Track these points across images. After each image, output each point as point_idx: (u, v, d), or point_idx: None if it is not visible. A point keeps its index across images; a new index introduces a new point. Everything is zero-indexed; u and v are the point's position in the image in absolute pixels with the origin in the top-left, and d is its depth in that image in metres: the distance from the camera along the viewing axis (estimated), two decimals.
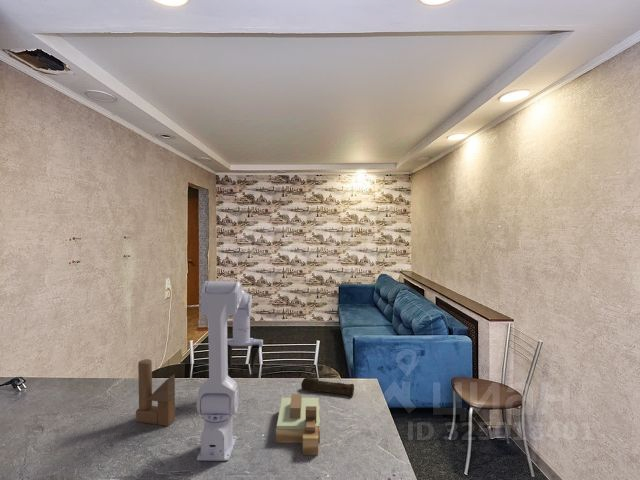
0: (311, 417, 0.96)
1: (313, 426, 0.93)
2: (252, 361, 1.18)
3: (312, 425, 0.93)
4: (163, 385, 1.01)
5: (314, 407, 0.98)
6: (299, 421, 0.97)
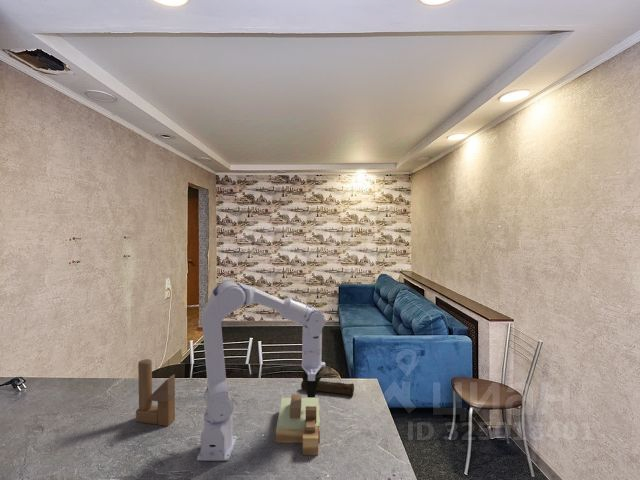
0: (311, 417, 0.96)
1: (313, 426, 0.93)
2: (306, 389, 1.01)
3: (312, 425, 0.93)
4: (163, 385, 1.01)
5: (314, 407, 0.98)
6: (299, 421, 0.97)
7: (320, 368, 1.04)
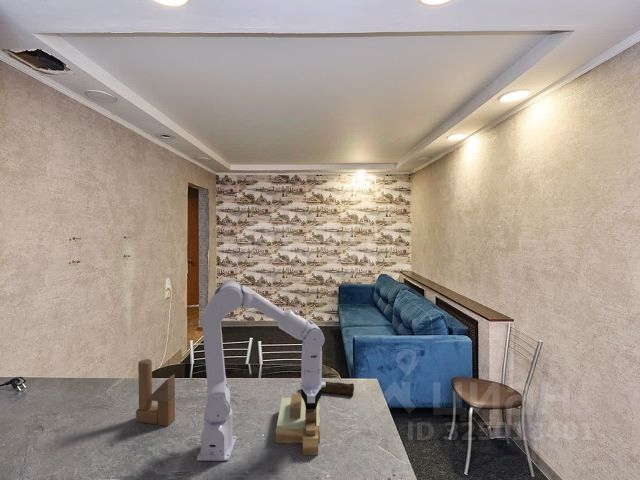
0: (311, 420, 0.95)
1: (313, 429, 0.91)
2: None
3: (312, 429, 0.91)
4: (163, 385, 1.01)
5: (314, 410, 0.96)
6: (299, 421, 0.97)
7: (320, 390, 0.98)
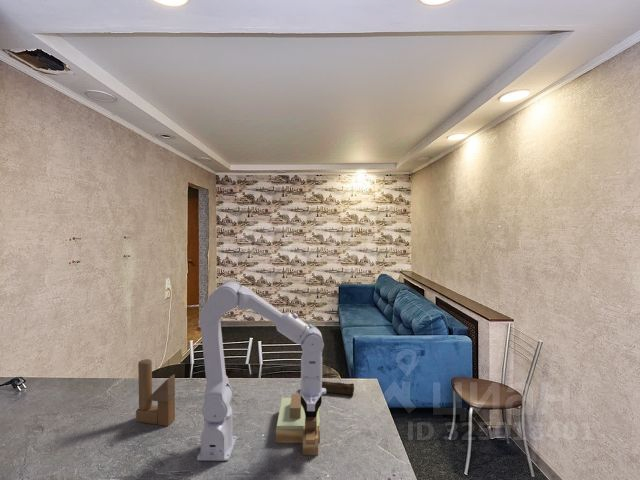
0: (311, 428, 0.91)
1: (313, 438, 0.88)
2: (305, 415, 0.94)
3: (312, 438, 0.88)
4: (163, 385, 1.01)
5: (314, 418, 0.92)
6: (299, 421, 0.97)
7: (320, 397, 0.94)
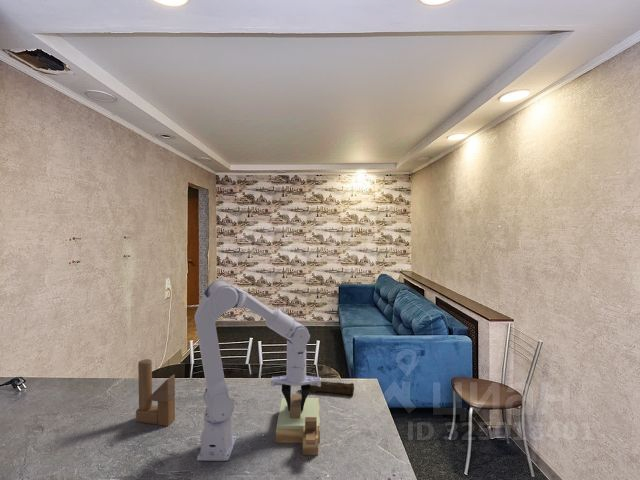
0: (311, 429, 0.91)
1: (313, 438, 0.87)
2: (302, 403, 1.01)
3: (312, 438, 0.88)
4: (163, 385, 1.01)
5: (314, 418, 0.92)
6: (299, 421, 0.97)
7: None
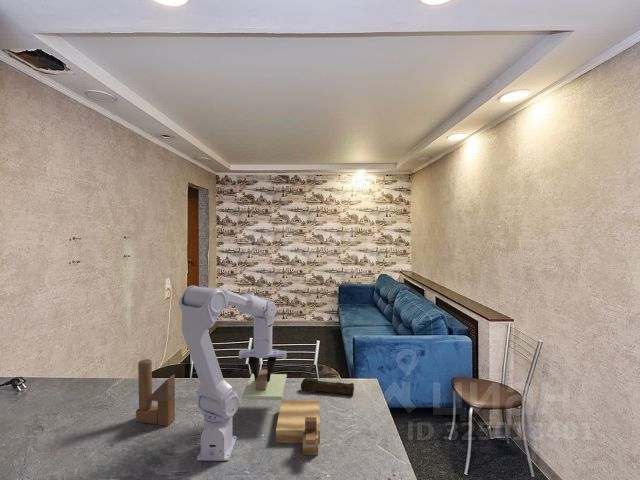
0: (311, 429, 0.91)
1: (313, 438, 0.87)
2: (268, 375, 1.07)
3: (312, 438, 0.88)
4: (163, 385, 1.01)
5: (314, 418, 0.92)
6: (264, 393, 1.03)
7: None
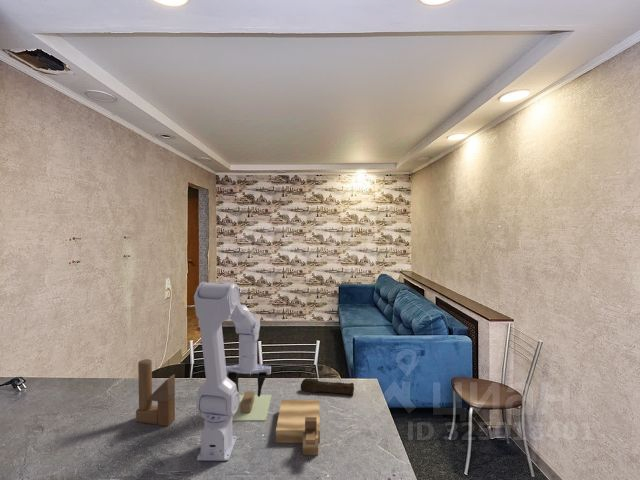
0: (311, 429, 0.91)
1: (313, 438, 0.87)
2: (259, 390, 1.11)
3: (312, 438, 0.88)
4: (163, 385, 1.01)
5: (314, 418, 0.92)
6: (248, 416, 1.07)
7: None
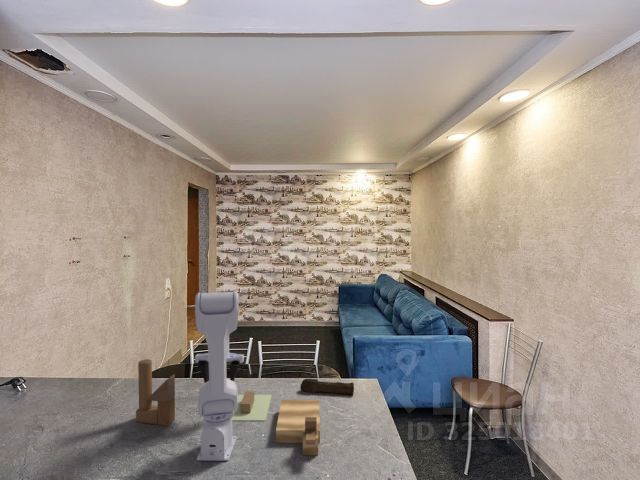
0: (311, 429, 0.91)
1: (313, 438, 0.87)
2: (231, 379, 1.07)
3: (312, 438, 0.88)
4: (163, 385, 1.01)
5: (314, 418, 0.92)
6: (248, 416, 1.07)
7: None
